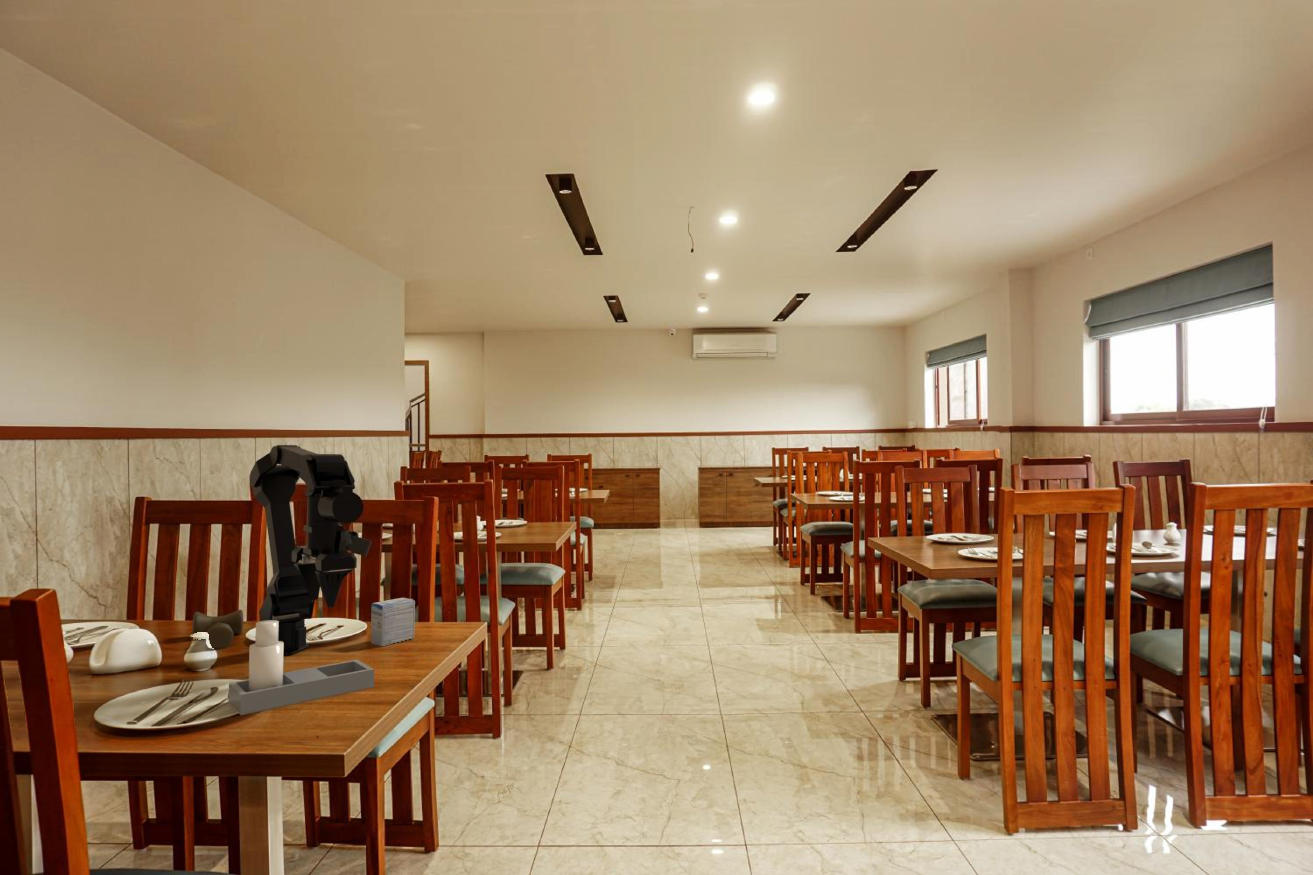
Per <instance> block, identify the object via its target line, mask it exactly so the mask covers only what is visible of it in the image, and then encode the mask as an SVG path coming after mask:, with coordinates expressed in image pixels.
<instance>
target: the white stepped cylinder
mask: <svg viewBox="0 0 1313 875" xmlns="http://www.w3.org/2000/svg"><path fill="white" fill-rule="evenodd" d="M278 627H279V621H277V620H267V621H260V620H259V621H257V622H256V623H255V643H252V644H250V645H249V649H248V651H249V655H248V656H249V657H248V658H249V660H248V679H249V690H248V692H251V691H256V690H261V689H267V688H272V687H277V686H282V685H283V673H284V655H283V653H284V642H282V641H278Z"/></svg>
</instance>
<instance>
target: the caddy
mask: <svg viewBox="0 0 1313 875" xmlns="http://www.w3.org/2000/svg"><path fill="white" fill-rule="evenodd" d="M373 688H375V669H374V668H373V667H371V666H369V665H368V664H365V663H364V662H362V661H361V660H359V659H353V660H347V661H341V662H336V663H330V664H324V665H320V666H314V667H309V668H302V669H298V670H292V671H286V672H283V685H282V686H277V687H272V688H267V689H261V690H256V691H251V692H248V690H249V678H247V679H242V680H236V681H231V682H228V703H229V704H230V706H231V707H233V709H234V708H235V709H236V710H237V711H238V712H239V713H238V712H237V711H236V710H235V709H234V710H235V711H236V712H237V713H238V714H239V715H240V716H243V715H244V716H245V715H249V714H253V713H258V712H262V711H263V712H264V711H267V710H273V709H278V708H282V707H283V708H284V707H287V706H291V705H297V704H301V703H307V702H312V701H315V700H316V701H317V700H320V699H325V698H330V697H335V696H339V695H344V694H349V693H354V692H358V691H364V690H368V689H373Z"/></svg>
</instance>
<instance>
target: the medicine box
mask: <svg viewBox="0 0 1313 875" xmlns="http://www.w3.org/2000/svg"><path fill="white" fill-rule="evenodd" d="M415 605H416V601H415V600H414V599H411V598H407V597H400V598H393V599H388V600H383V601H378V602H377V601H376V602H373V603H371V606H370V607H371V608H370V609H371V610H370V611H371V613H370V614H371V615H370V618H371V619H370V620H371V621H370V623H371V625H370V643H371V644H372V645H375V646H378V647H382V646H383V647H386V645H387V646H390V644H391V645H394V644H393V643H395V644H398V643H397V642H399V643H402V642H401V641H403V642H406V641H405V640H407V641H409V640H408V639H411V640H414V639H415V618H416V617H415V614H416V613H415V612H416V611H415V610H416V608H415V607H416V606H415ZM413 638H414V639H413Z"/></svg>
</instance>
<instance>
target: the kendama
mask: <svg viewBox="0 0 1313 875" xmlns="http://www.w3.org/2000/svg"><path fill="white" fill-rule="evenodd" d="M192 618H193V619H192V628H191V629H192V630H191V633H192V635H193V634H194V633H197V632H208V634H209V640H210V644H211V646H212V648H214V649H215V650H222V649H227V648H228V647H230V646H231V644H232V643H233V641H234V638H235V636H234V635H238V636H239V635H242V633H243V630H244V611H243V609H237V610H236V611H233V612H231V613H228V614H226V615H219V616H212V615H207V614H204V613H202V612H200V611H195V612H194V613H193V616H192Z"/></svg>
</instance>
